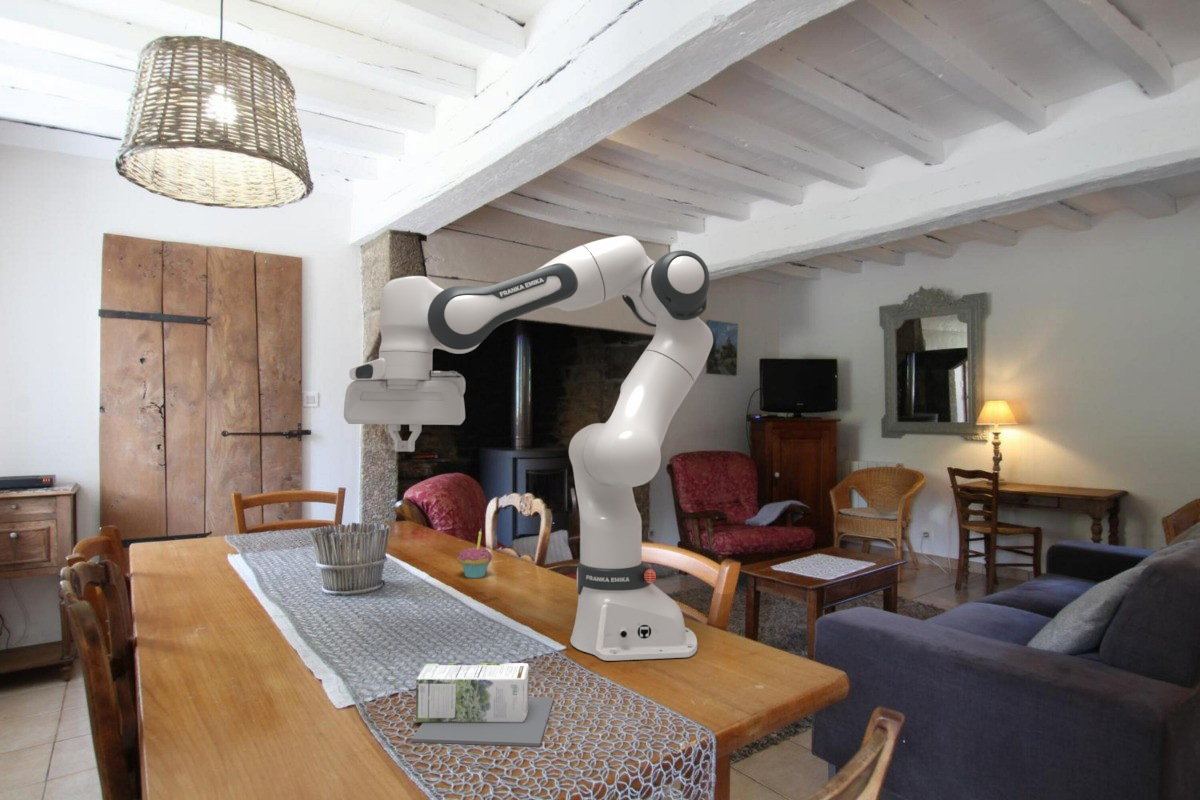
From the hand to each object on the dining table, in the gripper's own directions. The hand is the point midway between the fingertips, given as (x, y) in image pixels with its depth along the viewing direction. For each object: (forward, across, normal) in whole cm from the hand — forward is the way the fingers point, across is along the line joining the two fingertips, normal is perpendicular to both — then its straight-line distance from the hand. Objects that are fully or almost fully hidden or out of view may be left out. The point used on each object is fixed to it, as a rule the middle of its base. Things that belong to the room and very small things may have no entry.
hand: (404, 451), depth 112 cm
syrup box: (+31, -11, +23) cm, 40 cm away
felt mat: (+34, -20, +23) cm, 46 cm away
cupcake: (+34, +1, -53) cm, 63 cm away
